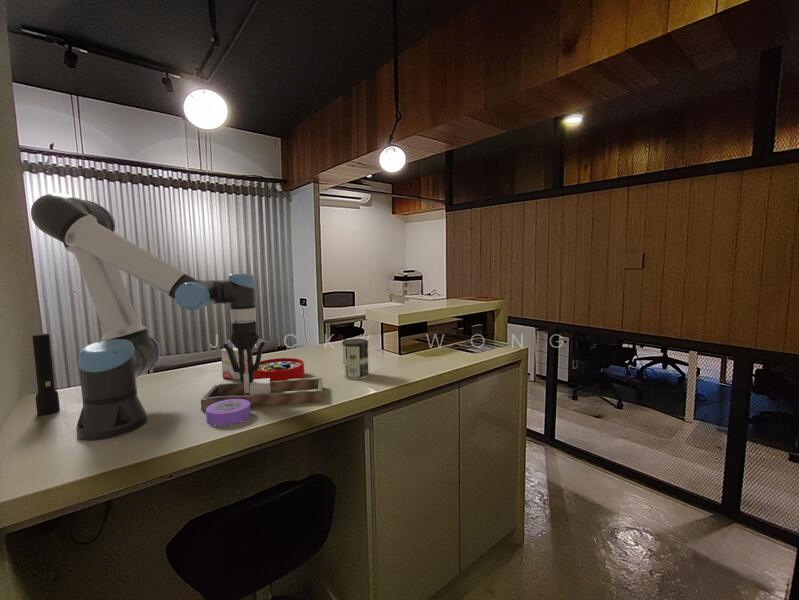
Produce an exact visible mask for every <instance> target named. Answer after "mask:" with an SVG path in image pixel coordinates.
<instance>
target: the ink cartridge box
mask: <svg viewBox="0 0 799 600" xmlns="http://www.w3.org/2000/svg"><path fill="white" fill-rule="evenodd" d="M229 341H230V339H227V343H228V342H229ZM232 345H233V347H232V348H233V351H234V354H235V357H236V360H237V363H238V366H239V353H238V349H237V348H236V347H235V346H234V344H233V343H232ZM244 358H245V369H246V370H245V372H248V361H247V350H245V349H244ZM221 371H222V379H223V378H233V379H232V380H240V373H238V372H234V371H233V368H232V365H231V362H230V358H229V355H228V352H227V350H226V349H225V348H222V349H221Z"/></svg>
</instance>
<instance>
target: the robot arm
mask: <svg viewBox="0 0 799 600" xmlns="http://www.w3.org/2000/svg"><path fill="white" fill-rule="evenodd" d="M30 216H31V220H32V222H33V223H34V225H35V226H36V227H37V228H38V230H40V231H41V232H42V233H44V234H46V235H48V236H50V237H52V238H53V239H56V240H57V241H59V242H61V243H63V246H64V249H65V251H67V252H69V253H71V254H73V255H74V256H75V259H76V261H77V263H78V267H79V269H80V272H81V274H82V277H83V280H84V282H85V285H86V287H87V290H88V293H89V295H90V298H91V300H92V303H93V306H94V308H95V311H96V315H97V316H98V319H99V321H100V324H101V327H102V329H103V332H104V334H103V335H102V337H101V339H100V342H93V343H91V344H88V345H86V346H84V347H83V348H81V350H80V351H79V352H78V361H77V362H78V364H77V365H78V368H79V377H80V386H81V387H80V388H81V396H82V408H81V411H80V414H79V418H78V421H77V424H76V429H75V431H76V437H77V439H80V440H84V441H95V440H96V441H98V440H103V439H104V440H105V439H109V438H110V439H111V438H115V437H118V436H122V435H125V434H127V433H131V432H134V431H135V430H138V429H140V428H141V427H143V426H144V425H145V424H146V423H147V421H148V418H147V416H148V415H147V411H146V410H145V407H144V406H143V404H142V402H141V400H140V398H139V396H138V391H137V390H138V387H137V386H138V385H137V378H138V377H140V376H141V375H144V374H145V373H147V372H149V371H151V370H152V369H153V368H154V366H156V365H157V363H158V362H159V360H160V357H161V352H162V351H161V347H160V345H159V342H158V341H157V340H156V339H155V338H154V337H151V336H150V334H149V331H148V329H147V326H143V325H141V324H140V323H139V321H138V318H137V316H136V313H135V310H134V308H133V304H132V302H131V299H130V296H129V294H128V291H127V289H126V288H127V287H126V285H125V282H124V279H123V277H122V274H121V272H120V270H121V271H122V272H123V273H126V274H128V275H129V276H132V277H134V278H135V279H137V280H139V281H141V282H143V283H144V284H146V285H148V286H150V287H151V288H153V289H155V290H157V291H159V292H161V293H162V294H164V295H166V296H168V297H170V298H171V299H173V300H175V302H176V304H177V305H178V306H179V307H181V308H182V309H184V310H188V311H196V310H200V309H202V308H204V307H207V306H210V305H220V304H222V305H223V304H224V305H225V304H229V309H230V321H231V324H230V325H231V326H230V327H231V337H230V339H229V340H230V341H229V342H228V341H227V342H225V343H224V344H223V349H226V350H227V352H228V355H229V358H230V362H231V365H232V368H233V371H234V372H238V373H240V379H239V380H240V383H244V393H250V382H253V380H254V377H253V372H254V371H257V370H258V368H259V365H260V361H262V360H261V359H262V355H263V349H264V347H265V345H266V344H267V341H266V340H263V339H261V338H260V337H259V335H258V330H257V327H258V326H257V321H256V319H257V311H256V310H257V309H256V291H255V289H256V288H255V287H256V286H255V281H254V275H253V274H252V273H229V274H228V278H227V279H223V280H222V279H221V280H218V279H217V280H202V279H201V280H198V279H196V278H194V277H192V276H190V275H189V274H187V273H185V272H183V271H182V270H180V269H178V268H176V267H175V266H173V265H171V264H170V263H168V262H166V261H164V260H163V259H160V258H159V257H157V256H156V255H154V254H152V253H150V252H149V251H147V250H145V249H144V248H142V247H140V246H139V245H136V243H135V244H134V243H133V242H131V241H130V240H128V239H126V238H124V237H122V236H121V235H119V234H117V233H116V232H115V230H116V221H115V218H114V216H113V215H112V214H111V212H110V211H109V210H108V209H106V207H104V206H101V205H100V204H98V203H97V202H94V201H91V200H88V199H81V198H79V197H74V196H73V195H69V194H66V193H58V192H57V193H56V192H55V193H46V194H45V195H41V196H40V197H38V198H37V199H35V201H34V202H33V203H32V206H31V208H30ZM232 343H233V344H234V346H235V347H236V348H237V349H238V353H239V366H238V363H237V360H236V357H235V354H234V351H233V348H232V347H233V345H232ZM256 344H257V351H256V356H255V360H254V357H253V349H254V347H255V345H256ZM244 349H245V350H247V361H248V372H245V370H246V369H245V358H244ZM254 361H255V362H254ZM254 363H255V366H254V367H253V364H254Z"/></svg>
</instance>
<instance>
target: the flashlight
mask: <svg viewBox="0 0 799 600" xmlns="http://www.w3.org/2000/svg"><path fill="white" fill-rule="evenodd" d="M31 338H32V346H33V354H34V355H33V356H34V364H35V365H34V366H35V367H34V368H35V372H36V373H35V377H36V383H37V393H36V394H35V405H36V415H37V416H47V415H51V414H55V413H58V412H60V398H59V392H58V390H56V388H55V386H56V385H55V377H54V366H53V358H52V349H51V348H52V347H51V339H50V338H51V337H50V333H38V334H33V335H32V337H31Z"/></svg>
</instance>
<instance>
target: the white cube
mask: <svg viewBox="0 0 799 600" xmlns="http://www.w3.org/2000/svg"><path fill="white" fill-rule="evenodd" d="M271 393H272V392H270V378H265V379H255V380H253V382H250V394H249V395H258V394H271Z"/></svg>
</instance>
